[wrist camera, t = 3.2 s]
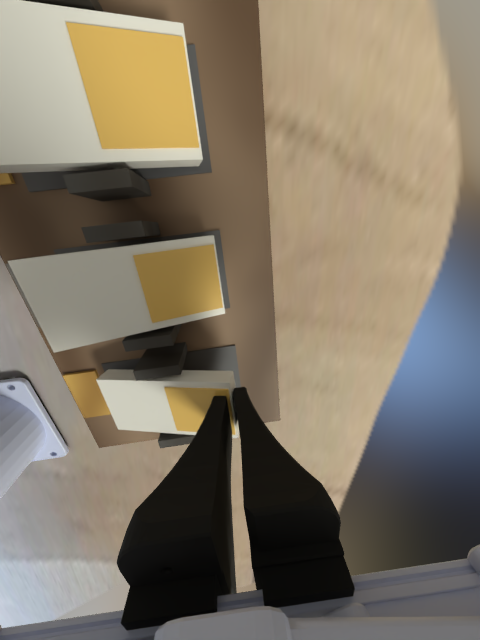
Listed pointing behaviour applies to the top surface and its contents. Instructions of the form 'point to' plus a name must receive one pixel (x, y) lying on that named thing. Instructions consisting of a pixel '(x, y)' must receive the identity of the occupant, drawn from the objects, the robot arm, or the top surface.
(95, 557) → the top surface
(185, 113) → the rocker near
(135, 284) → the rocker middle
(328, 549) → the robot arm
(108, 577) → the top surface
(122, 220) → the switch panel
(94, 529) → the top surface
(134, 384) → the block
